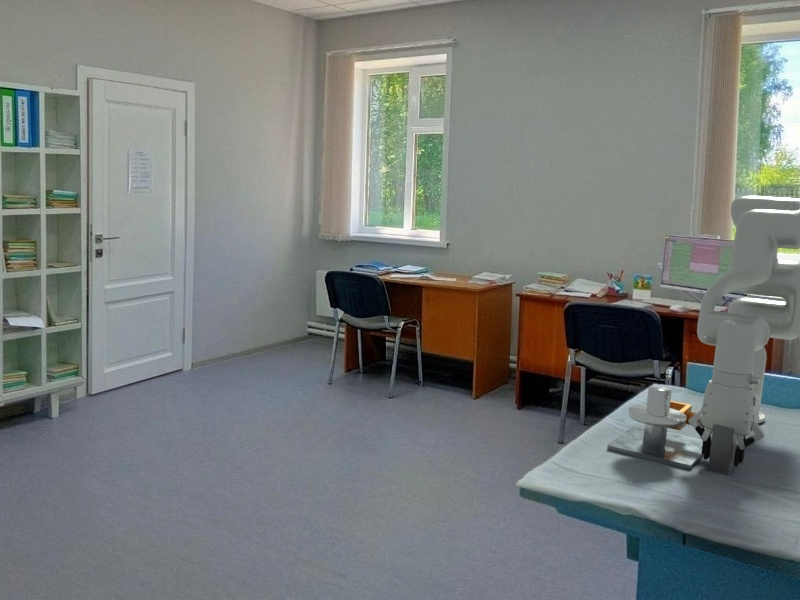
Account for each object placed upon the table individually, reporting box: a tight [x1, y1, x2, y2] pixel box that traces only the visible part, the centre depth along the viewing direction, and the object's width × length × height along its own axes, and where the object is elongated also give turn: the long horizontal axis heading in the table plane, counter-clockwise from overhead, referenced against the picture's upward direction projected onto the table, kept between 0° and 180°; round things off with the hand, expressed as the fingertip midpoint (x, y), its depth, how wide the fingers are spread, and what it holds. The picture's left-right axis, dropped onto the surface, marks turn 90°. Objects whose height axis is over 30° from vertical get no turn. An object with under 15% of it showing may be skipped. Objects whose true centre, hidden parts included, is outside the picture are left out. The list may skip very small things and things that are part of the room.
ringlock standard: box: [606, 385, 706, 471], centre depth 169 cm, size 22×23×15 cm
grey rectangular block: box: [707, 425, 737, 476], centre depth 159 cm, size 5×4×10 cm
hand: (721, 460), depth 160 cm, fingers open, 5 cm apart
